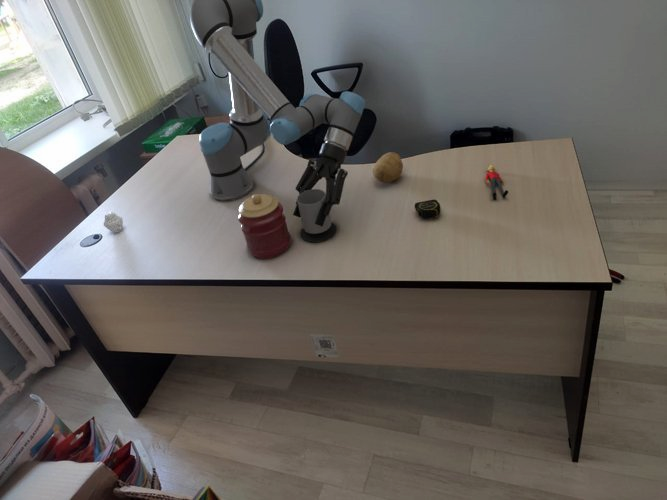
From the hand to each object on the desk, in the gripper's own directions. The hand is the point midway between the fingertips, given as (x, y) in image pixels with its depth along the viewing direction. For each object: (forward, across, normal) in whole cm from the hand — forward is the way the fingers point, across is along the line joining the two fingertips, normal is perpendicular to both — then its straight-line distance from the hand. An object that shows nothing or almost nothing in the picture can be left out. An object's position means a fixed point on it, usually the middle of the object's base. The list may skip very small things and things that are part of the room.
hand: (307, 220), depth 137 cm
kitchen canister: (+11, +8, +2) cm, 14 cm away
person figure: (-31, -32, -40) cm, 60 cm away
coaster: (+2, 0, -7) cm, 7 cm away
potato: (-23, 0, -32) cm, 39 cm away
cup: (0, 0, -5) cm, 5 cm away
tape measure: (-14, -23, -23) cm, 36 cm away
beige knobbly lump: (+27, +63, +18) cm, 71 cm away
